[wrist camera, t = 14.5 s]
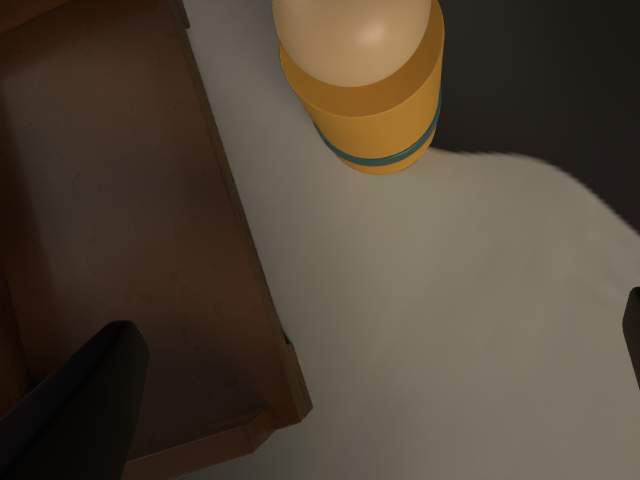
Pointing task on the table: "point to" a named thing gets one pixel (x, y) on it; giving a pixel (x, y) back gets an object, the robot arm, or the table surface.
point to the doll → (366, 75)
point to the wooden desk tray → (133, 231)
